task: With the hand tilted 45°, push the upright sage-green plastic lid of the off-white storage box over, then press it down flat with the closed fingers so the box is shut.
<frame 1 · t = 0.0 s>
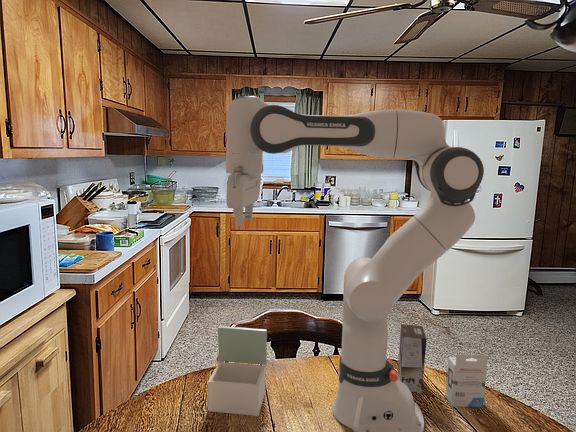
hand: (244, 222, 99), 48 cm above the table, tool pointing down, fingers open, 8 cm apart
ink box: (463, 402, 108), on the table
coffee box: (409, 383, 116), on the table
storage box: (237, 401, 106), on the table
box lid: (242, 345, 109), point 13 cm above the table, hinge at 85.0°
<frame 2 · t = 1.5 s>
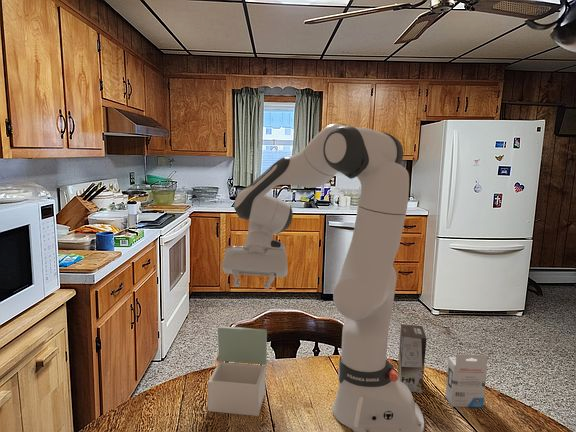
hand: (251, 286, 119), 26 cm above the table, tool tilted 45°, fingers open, 8 cm apart
nothing on the table moved.
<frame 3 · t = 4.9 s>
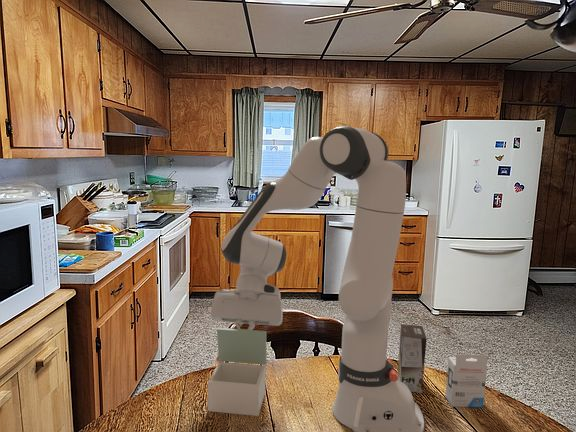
hand: (242, 337, 109), 15 cm above the table, tool tilted 45°, fingers closed, pressing on box lid
box lid: (242, 346, 108), point 13 cm above the table, hinge at 80.0°, touching gripper
everything else where it was.
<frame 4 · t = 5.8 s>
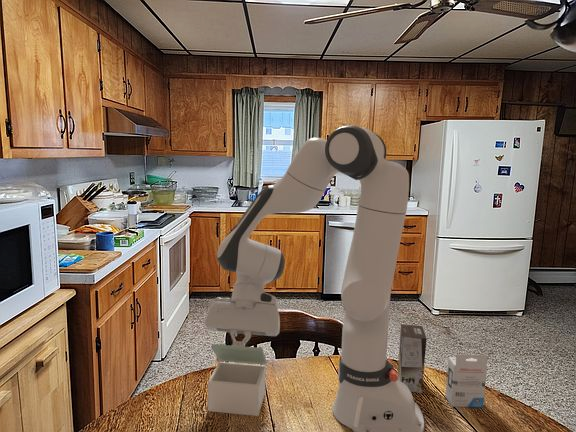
hand: (238, 349, 104), 14 cm above the table, tool tilted 45°, fingers closed, pressing on box lid
box lid: (239, 354, 106), point 12 cm above the table, hinge at 47.2°, touching gripper
everything else where it was.
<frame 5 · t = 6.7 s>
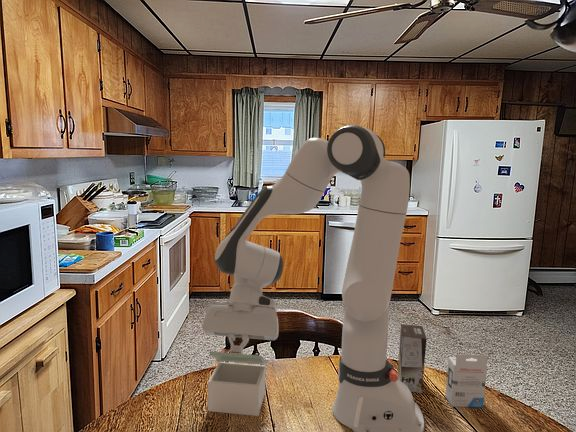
hand: (235, 353, 102), 14 cm above the table, tool tilted 45°, fingers closed, pressing on box lid
box lid: (239, 358, 105), point 12 cm above the table, hinge at 36.3°, touching gripper
everything else where it was.
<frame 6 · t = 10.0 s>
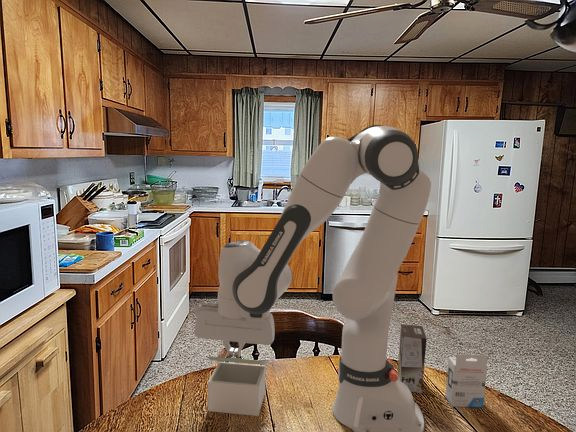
hand: (233, 356, 102), 14 cm above the table, tool pointing down, fingers closed, pressing on box lid
box lid: (238, 360, 105), point 11 cm above the table, hinge at 29.5°, touching gripper
everything else where it was.
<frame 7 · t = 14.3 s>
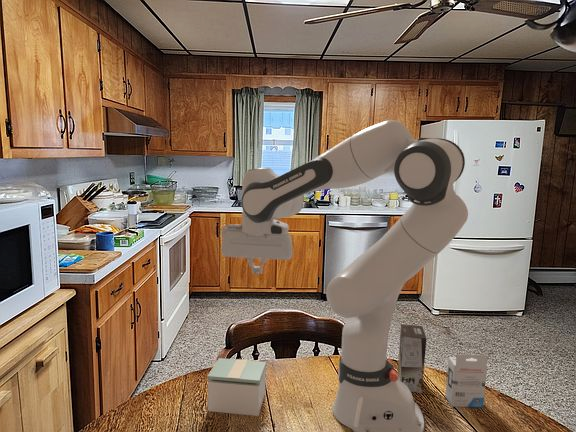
hand: (256, 272, 115), 31 cm above the table, tool pointing down, fingers closed
box lid: (237, 369, 104), point 9 cm above the table, hinge at 2.8°
everything else where it was.
at the end: box lid at +3° (first picture: +85°); coffee box moved 0.2 cm from its start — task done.
